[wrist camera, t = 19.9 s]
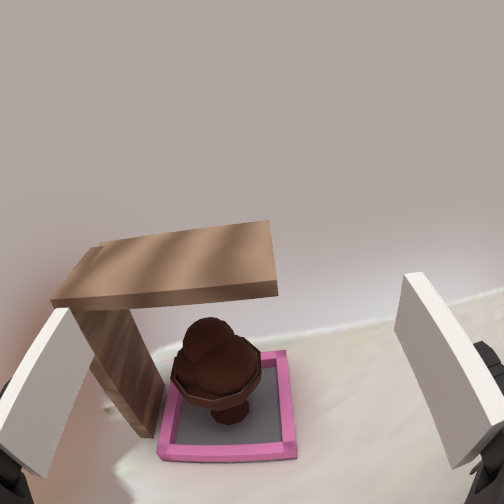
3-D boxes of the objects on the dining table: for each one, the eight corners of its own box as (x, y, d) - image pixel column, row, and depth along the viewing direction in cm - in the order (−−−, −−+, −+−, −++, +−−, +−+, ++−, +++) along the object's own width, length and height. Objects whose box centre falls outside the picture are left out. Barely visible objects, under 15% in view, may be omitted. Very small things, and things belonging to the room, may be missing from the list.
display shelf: (284, 373, 45) (268, 220, 33) (290, 435, 35) (276, 279, 23) (154, 379, 46) (93, 243, 34) (140, 437, 36) (49, 299, 24)
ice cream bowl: (175, 417, 39) (136, 344, 32) (224, 368, 46) (203, 290, 39) (236, 456, 33) (208, 389, 26) (284, 396, 40) (276, 316, 33)
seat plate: (286, 360, 47) (285, 349, 46) (296, 458, 32) (296, 451, 31) (180, 368, 48) (175, 357, 47) (163, 460, 33) (156, 453, 32)
